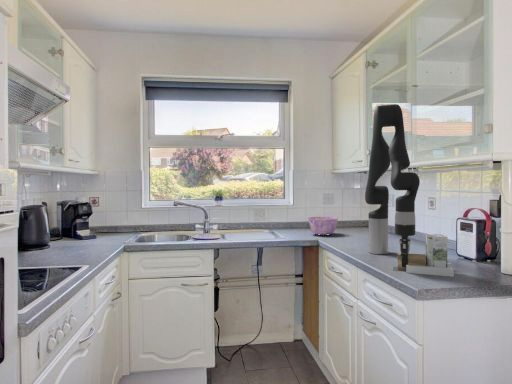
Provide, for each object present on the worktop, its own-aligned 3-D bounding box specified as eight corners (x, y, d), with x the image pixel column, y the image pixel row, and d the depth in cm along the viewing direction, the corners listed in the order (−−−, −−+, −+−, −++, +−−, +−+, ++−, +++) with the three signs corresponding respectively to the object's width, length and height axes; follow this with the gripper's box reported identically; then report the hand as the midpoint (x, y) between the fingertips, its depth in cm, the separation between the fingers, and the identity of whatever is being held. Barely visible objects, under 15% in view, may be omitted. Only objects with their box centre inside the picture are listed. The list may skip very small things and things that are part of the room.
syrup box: (440, 270, 142) (439, 233, 142) (447, 274, 136) (447, 235, 136) (425, 270, 142) (425, 234, 142) (432, 274, 136) (432, 236, 136)
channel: (394, 266, 151) (394, 259, 151) (451, 270, 142) (451, 262, 142) (392, 272, 141) (392, 264, 141) (453, 277, 132) (453, 269, 132)
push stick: (398, 267, 146) (397, 253, 146) (425, 269, 142) (425, 254, 142) (397, 269, 143) (397, 254, 143) (425, 271, 139) (425, 255, 139)
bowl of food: (306, 236, 239) (305, 219, 239) (310, 232, 258) (310, 216, 258) (336, 237, 233) (336, 219, 233) (339, 233, 252) (338, 216, 252)
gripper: (396, 220, 151) (396, 261, 152) (393, 224, 139) (393, 269, 139) (415, 221, 148) (415, 263, 149) (415, 225, 135) (414, 271, 136)
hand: (405, 266), depth 144 cm, fingers closed on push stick, 3 cm apart
